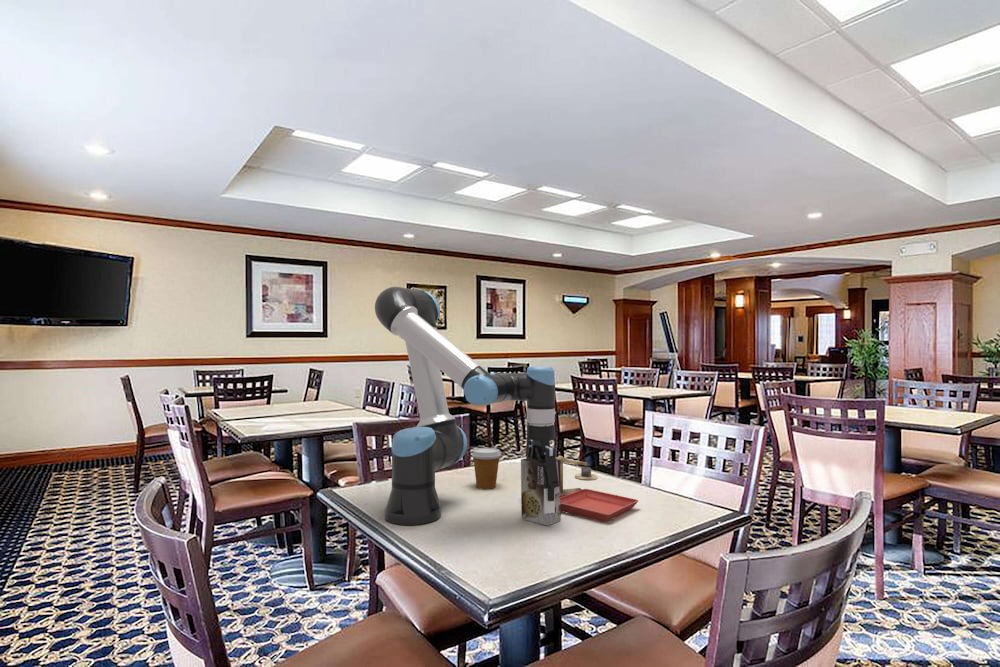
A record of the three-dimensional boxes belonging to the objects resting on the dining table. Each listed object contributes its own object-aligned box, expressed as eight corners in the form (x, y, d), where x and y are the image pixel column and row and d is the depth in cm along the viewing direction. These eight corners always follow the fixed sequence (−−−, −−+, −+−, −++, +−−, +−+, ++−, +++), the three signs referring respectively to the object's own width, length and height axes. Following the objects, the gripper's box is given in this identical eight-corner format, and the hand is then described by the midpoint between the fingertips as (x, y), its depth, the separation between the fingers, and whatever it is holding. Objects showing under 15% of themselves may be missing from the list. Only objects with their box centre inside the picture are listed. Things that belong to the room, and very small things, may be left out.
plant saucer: (639, 510, 156) (639, 499, 156) (608, 526, 142) (608, 513, 142) (584, 499, 168) (584, 488, 168) (550, 512, 154) (551, 500, 154)
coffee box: (561, 520, 146) (561, 459, 146) (546, 526, 141) (546, 463, 141) (535, 513, 152) (535, 454, 152) (520, 518, 147) (520, 458, 148)
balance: (527, 504, 161) (527, 456, 161) (518, 497, 167) (518, 452, 168) (601, 496, 169) (601, 452, 169) (590, 491, 175) (590, 448, 175)
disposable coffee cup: (498, 491, 175) (498, 453, 175) (468, 489, 176) (469, 452, 177) (502, 483, 184) (502, 447, 185) (474, 482, 186) (475, 447, 186)
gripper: (572, 429, 137) (572, 518, 137) (537, 417, 159) (537, 494, 159) (544, 431, 135) (544, 521, 134) (513, 419, 157) (513, 496, 156)
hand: (540, 506), depth 147 cm, fingers closed on coffee box, 11 cm apart
